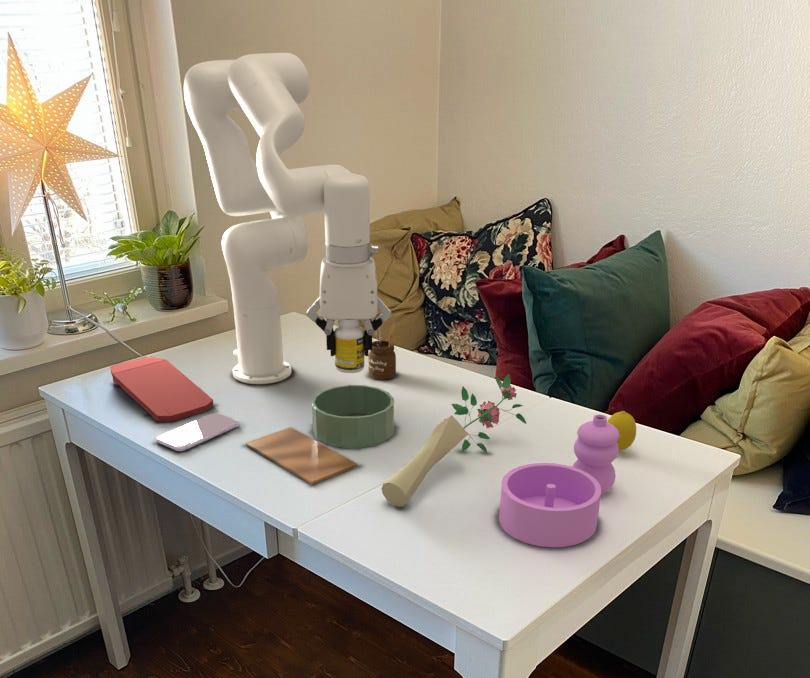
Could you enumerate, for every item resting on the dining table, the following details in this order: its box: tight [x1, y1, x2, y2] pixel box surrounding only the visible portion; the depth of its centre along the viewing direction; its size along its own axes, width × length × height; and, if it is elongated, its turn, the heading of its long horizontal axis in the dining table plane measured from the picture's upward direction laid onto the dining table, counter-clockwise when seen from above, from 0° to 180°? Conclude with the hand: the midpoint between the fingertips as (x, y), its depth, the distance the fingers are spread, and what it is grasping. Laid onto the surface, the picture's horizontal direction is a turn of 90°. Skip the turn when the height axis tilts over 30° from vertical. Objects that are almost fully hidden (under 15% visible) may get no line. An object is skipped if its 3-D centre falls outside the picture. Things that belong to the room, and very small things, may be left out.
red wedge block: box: [109, 355, 214, 423], centre depth 179 cm, size 12×5×25 cm
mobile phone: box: [155, 412, 240, 452], centre depth 165 cm, size 8×1×15 cm
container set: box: [498, 414, 620, 548], centre depth 139 cm, size 25×15×13 cm, turn 140°
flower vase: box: [381, 374, 527, 508], centre depth 153 cm, size 12×12×35 cm
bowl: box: [311, 384, 395, 449], centre depth 165 cm, size 15×15×6 cm
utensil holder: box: [367, 323, 397, 381], centre depth 187 cm, size 6×6×12 cm
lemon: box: [607, 410, 637, 452], centre depth 157 cm, size 6×6×8 cm
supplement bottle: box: [334, 319, 365, 374], centre depth 158 cm, size 5×5×10 cm
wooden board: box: [245, 427, 358, 486], centre depth 158 cm, size 20×10×1 cm, turn 42°
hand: (349, 352), depth 159 cm, fingers closed on supplement bottle, 5 cm apart
